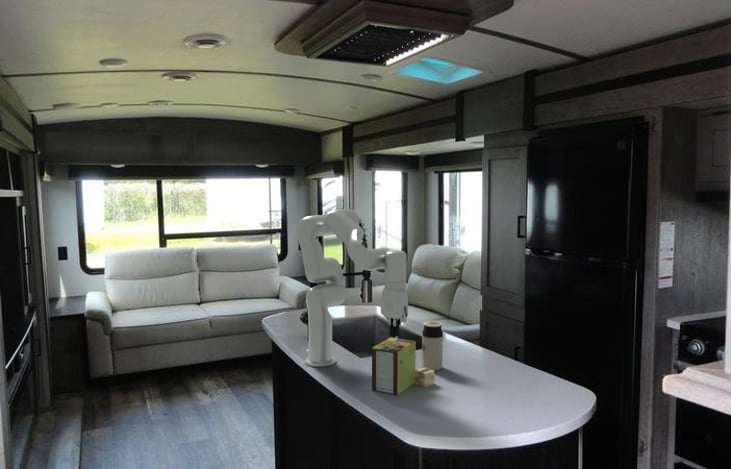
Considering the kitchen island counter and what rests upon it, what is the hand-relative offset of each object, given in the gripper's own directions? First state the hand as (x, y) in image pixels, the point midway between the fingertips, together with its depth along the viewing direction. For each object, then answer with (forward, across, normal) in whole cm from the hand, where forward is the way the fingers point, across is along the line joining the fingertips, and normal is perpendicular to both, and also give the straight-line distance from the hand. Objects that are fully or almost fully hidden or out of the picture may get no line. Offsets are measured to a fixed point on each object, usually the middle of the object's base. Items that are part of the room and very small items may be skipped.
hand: (394, 335), depth 196 cm
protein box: (+19, 0, 0) cm, 19 cm away
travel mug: (+19, -4, +25) cm, 32 cm away
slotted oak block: (+18, +6, +10) cm, 22 cm away
